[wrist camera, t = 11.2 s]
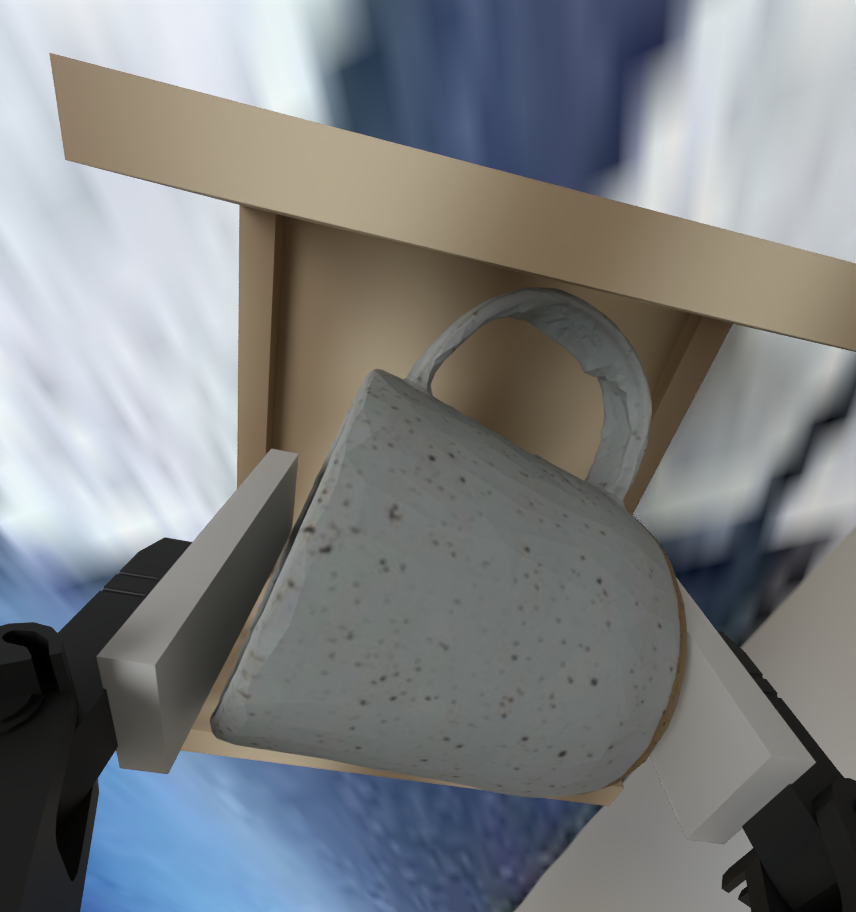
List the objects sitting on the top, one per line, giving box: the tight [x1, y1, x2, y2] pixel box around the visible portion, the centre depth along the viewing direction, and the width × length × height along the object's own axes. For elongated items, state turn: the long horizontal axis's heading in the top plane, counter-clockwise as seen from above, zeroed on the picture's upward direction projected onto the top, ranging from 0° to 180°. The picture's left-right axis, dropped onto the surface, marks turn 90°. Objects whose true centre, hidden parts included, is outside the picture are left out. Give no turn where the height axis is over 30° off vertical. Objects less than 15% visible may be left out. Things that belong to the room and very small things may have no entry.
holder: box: [50, 53, 856, 806], centre depth 13 cm, size 15×16×8 cm
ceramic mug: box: [210, 287, 687, 798], centre depth 9 cm, size 11×8×8 cm
